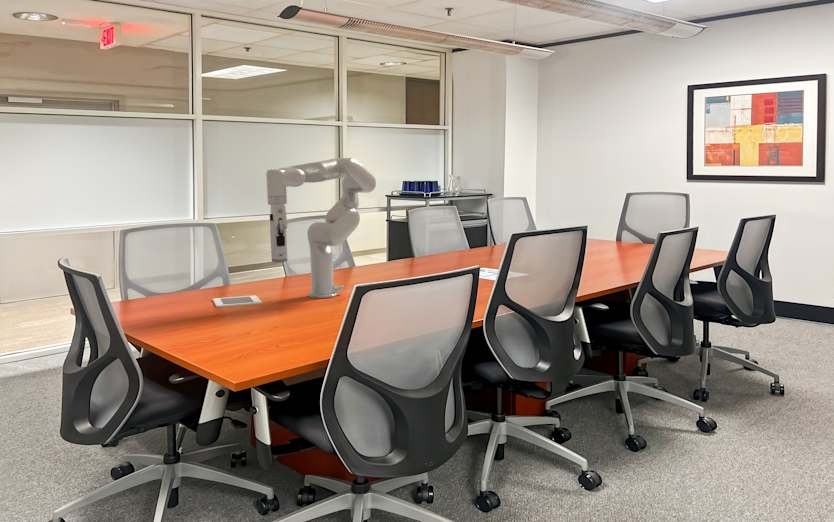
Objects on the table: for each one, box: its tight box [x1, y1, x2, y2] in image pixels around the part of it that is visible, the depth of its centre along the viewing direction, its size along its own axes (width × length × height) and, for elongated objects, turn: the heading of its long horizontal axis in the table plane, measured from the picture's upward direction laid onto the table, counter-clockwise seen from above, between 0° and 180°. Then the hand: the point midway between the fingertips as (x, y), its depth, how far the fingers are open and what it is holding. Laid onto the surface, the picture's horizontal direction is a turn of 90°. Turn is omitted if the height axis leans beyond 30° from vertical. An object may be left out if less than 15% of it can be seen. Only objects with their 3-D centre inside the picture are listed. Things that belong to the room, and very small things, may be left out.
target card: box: [212, 294, 263, 308], centre depth 301 cm, size 18×16×1 cm
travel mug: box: [269, 213, 288, 263], centre depth 292 cm, size 6×7×20 cm
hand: (279, 244), depth 293 cm, fingers closed on travel mug, 6 cm apart
